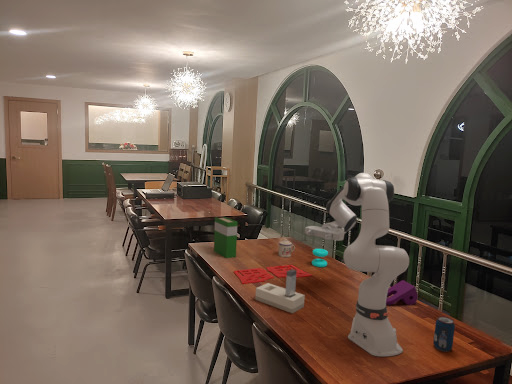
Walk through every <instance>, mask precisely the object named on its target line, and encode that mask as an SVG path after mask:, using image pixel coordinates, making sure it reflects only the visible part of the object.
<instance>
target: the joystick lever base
mask: <svg viewBox="0 0 512 384" xmlns="http://www.w3.org/2000/svg"><path fill="white" fill-rule="evenodd" d="M285 292H286V287H282V286H278V285H275V284H272V283H269V282H267V283H264V284H263V285H262V284H261V285H260V286H258V287H255V301H258V302H260V303H263V304H266V305H269V306H271V307H274V308H277V309H280V310H282V311H285V312H287V313H290V314H294V313H296V312H297V311H299V310H301V309H304V308H305V296H306V295H305V294H302V293H300V292H297V291H295V296H293V297H291V298H289V297H286V296H285Z"/></svg>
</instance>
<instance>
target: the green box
mask: <svg viewBox="0 0 512 384" xmlns="http://www.w3.org/2000/svg"><path fill="white" fill-rule="evenodd" d="M213 233H214V234H213V235H214V237H213V252H215V253H216V254H218V255H220V256H221V257H223V258H225V259H231V258H236V257H237V239H238V221H237V220H234V219H231V218H230V217H226V216H222V217H217V216H216V217H214V232H213Z"/></svg>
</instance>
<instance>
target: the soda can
mask: <svg viewBox="0 0 512 384" xmlns="http://www.w3.org/2000/svg"><path fill="white" fill-rule="evenodd" d="M455 329H456V324H455V321H454V319H452V318H450V317H448V316H444V315H443V316H438V317H437V319H436V320H435V326H434V333H433V335H434V336H433V346H434V347H435V349H437V350H439V351H440V352H445V353H446V352H450V351H451V350H452V349H453V346H454V345H453V344H454V336H455V331H456V330H455Z"/></svg>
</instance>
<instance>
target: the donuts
mask: <svg viewBox="0 0 512 384" xmlns="http://www.w3.org/2000/svg"><path fill="white" fill-rule="evenodd" d="M312 254H313V255H314V256H316V257H317V258H313V259H312V260H311V264H312V266H314V267H317V268H325V267H327V266H328V261H327V260H326V259H323V257H327V256H328V254H329V251H328V250H326V249H324V248H314V249H313V250H312ZM318 257H319V258H318Z"/></svg>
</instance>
